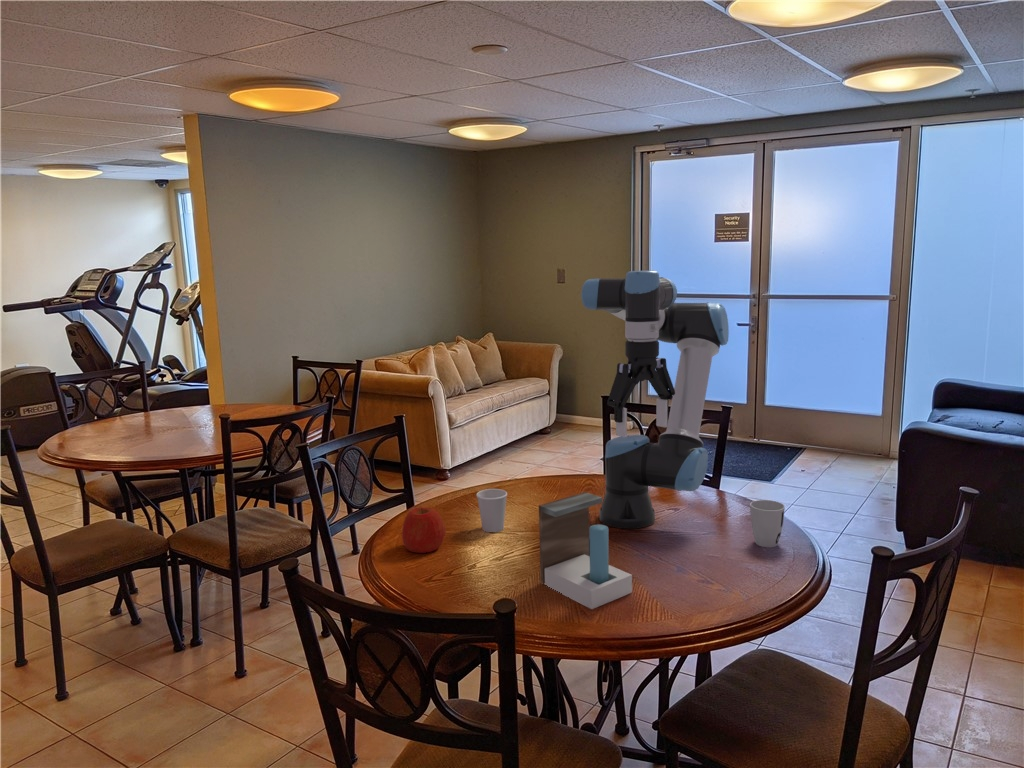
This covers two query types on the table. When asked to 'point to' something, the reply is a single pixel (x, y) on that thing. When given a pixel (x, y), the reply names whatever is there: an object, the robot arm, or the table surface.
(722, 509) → the table surface
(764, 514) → the cup
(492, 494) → the dixie cup
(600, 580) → the peg
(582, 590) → the socket
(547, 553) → the awning
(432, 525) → the apple
